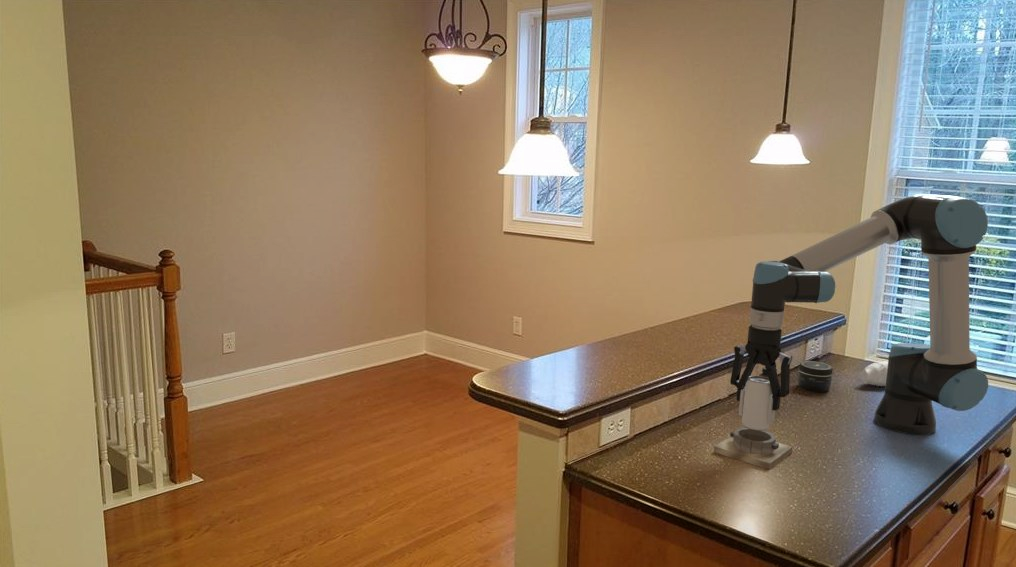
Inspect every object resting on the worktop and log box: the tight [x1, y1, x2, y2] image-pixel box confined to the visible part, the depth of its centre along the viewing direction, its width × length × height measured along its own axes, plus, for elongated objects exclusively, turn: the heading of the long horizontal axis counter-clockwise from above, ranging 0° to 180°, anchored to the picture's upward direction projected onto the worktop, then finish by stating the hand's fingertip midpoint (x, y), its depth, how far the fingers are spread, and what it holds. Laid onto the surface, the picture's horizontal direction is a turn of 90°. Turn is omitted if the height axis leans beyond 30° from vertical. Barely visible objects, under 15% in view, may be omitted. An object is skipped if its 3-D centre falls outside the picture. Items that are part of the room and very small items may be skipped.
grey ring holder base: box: [713, 427, 793, 470], centre depth 182 cm, size 14×14×4 cm
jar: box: [797, 360, 834, 393], centre depth 235 cm, size 10×10×8 cm
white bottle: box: [857, 360, 888, 387], centre depth 241 cm, size 8×19×8 cm, turn 110°
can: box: [741, 375, 772, 431], centre depth 180 cm, size 6×6×12 cm
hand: (756, 417), depth 181 cm, fingers closed on can, 6 cm apart
